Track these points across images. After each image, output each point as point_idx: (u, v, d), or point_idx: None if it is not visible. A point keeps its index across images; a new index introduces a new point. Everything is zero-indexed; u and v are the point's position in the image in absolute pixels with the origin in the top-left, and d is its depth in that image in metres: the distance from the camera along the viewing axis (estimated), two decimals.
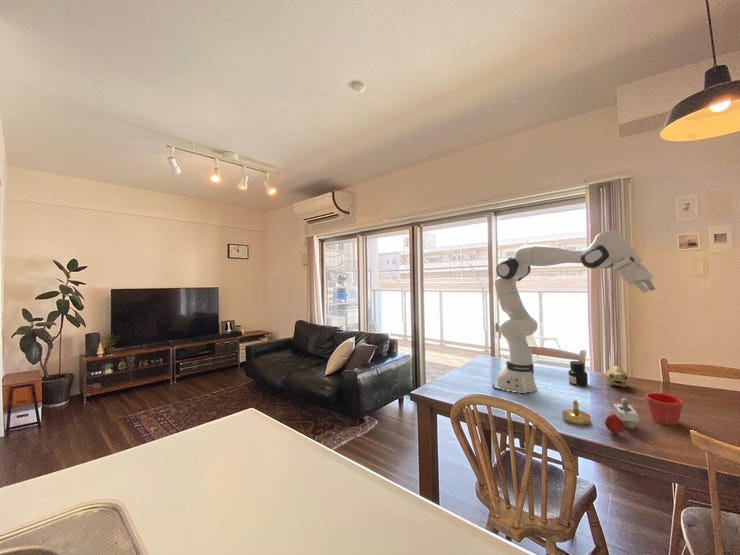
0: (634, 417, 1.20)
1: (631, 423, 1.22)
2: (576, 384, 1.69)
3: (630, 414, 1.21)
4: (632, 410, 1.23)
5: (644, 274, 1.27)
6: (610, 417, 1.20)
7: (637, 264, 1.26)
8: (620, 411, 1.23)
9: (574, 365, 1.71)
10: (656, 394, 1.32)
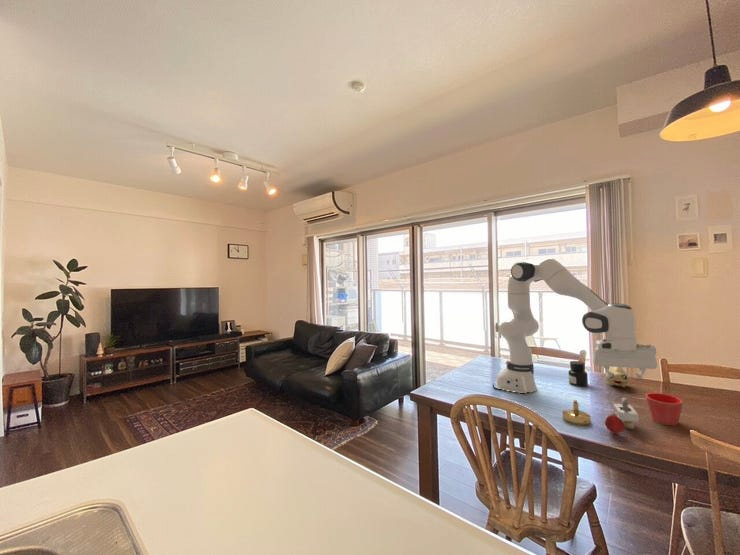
0: (634, 417, 1.20)
1: (631, 423, 1.22)
2: (576, 384, 1.69)
3: (630, 414, 1.21)
4: (632, 410, 1.23)
5: (628, 362, 1.23)
6: (610, 417, 1.20)
7: (619, 351, 1.23)
8: (620, 411, 1.23)
9: (574, 365, 1.71)
10: (656, 394, 1.32)
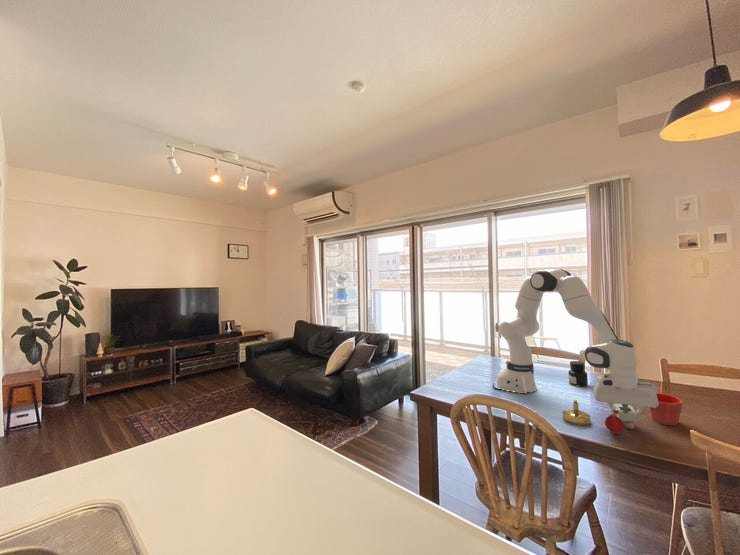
0: (634, 417, 1.20)
1: (631, 423, 1.22)
2: (576, 384, 1.69)
3: (630, 414, 1.21)
4: (632, 410, 1.23)
5: (629, 400, 1.23)
6: (610, 417, 1.20)
7: (620, 389, 1.23)
8: (620, 411, 1.23)
9: (574, 365, 1.71)
10: (656, 394, 1.32)
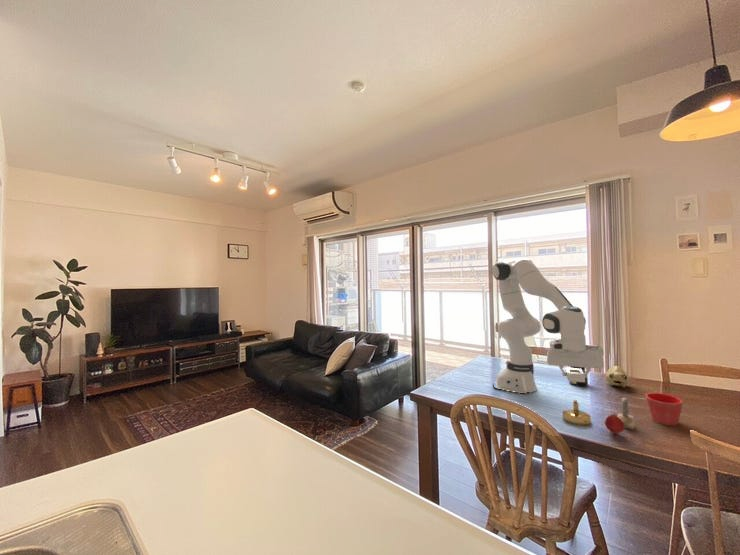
0: (581, 378, 1.27)
1: (631, 423, 1.22)
2: (576, 384, 1.69)
3: (577, 375, 1.28)
4: (580, 372, 1.30)
5: (578, 362, 1.30)
6: (610, 417, 1.20)
7: (570, 351, 1.30)
8: (569, 373, 1.30)
9: None
10: (656, 394, 1.32)
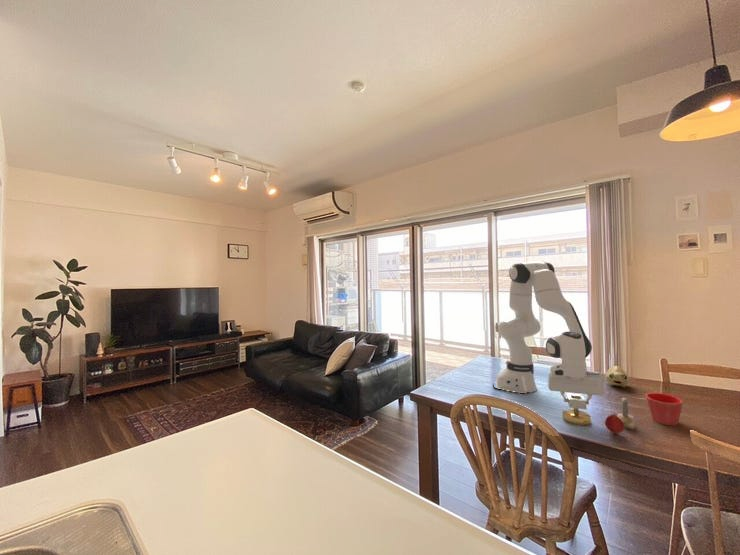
0: (582, 405, 1.27)
1: (631, 423, 1.22)
2: None
3: (579, 402, 1.27)
4: (582, 398, 1.30)
5: (579, 388, 1.29)
6: (610, 417, 1.20)
7: (571, 378, 1.30)
8: (570, 399, 1.29)
9: None
10: (656, 394, 1.32)
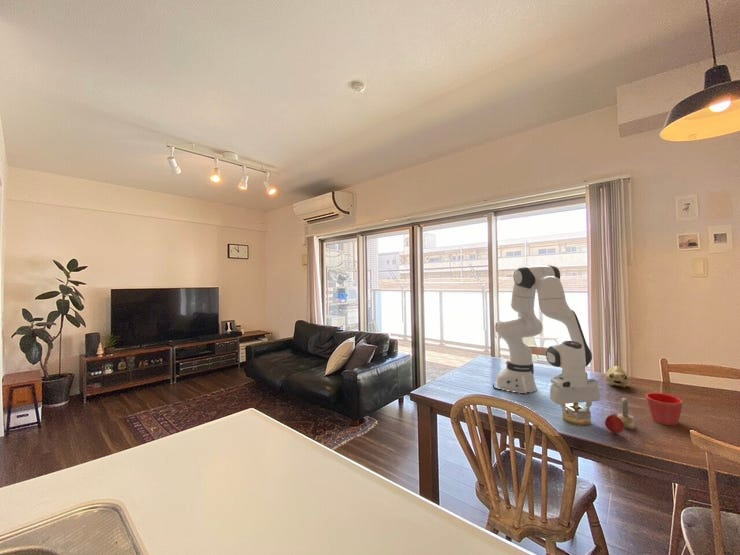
0: (587, 415, 1.27)
1: (631, 423, 1.22)
2: None
3: (585, 412, 1.27)
4: (582, 408, 1.31)
5: (581, 397, 1.30)
6: (610, 417, 1.20)
7: (575, 388, 1.29)
8: (576, 411, 1.28)
9: None
10: (656, 394, 1.32)
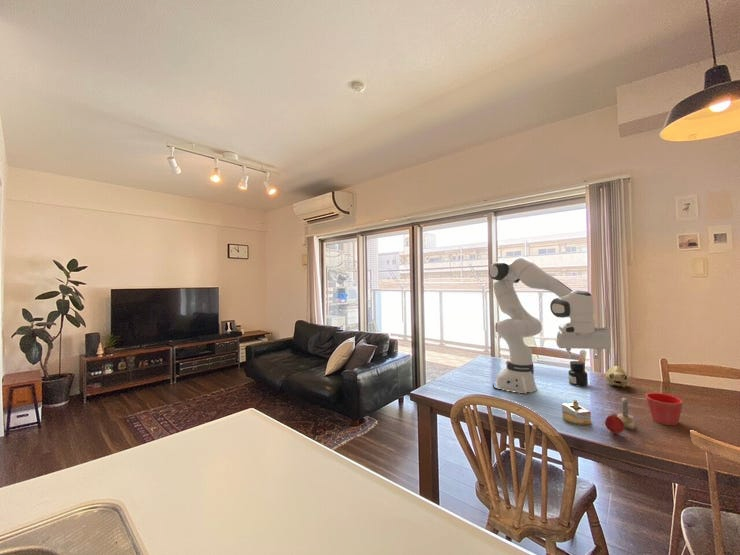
0: (587, 415, 1.27)
1: (631, 423, 1.22)
2: (576, 384, 1.69)
3: (585, 412, 1.27)
4: (582, 408, 1.31)
5: (587, 344, 1.35)
6: (610, 417, 1.20)
7: (580, 334, 1.35)
8: (576, 411, 1.28)
9: (574, 365, 1.71)
10: (656, 394, 1.32)
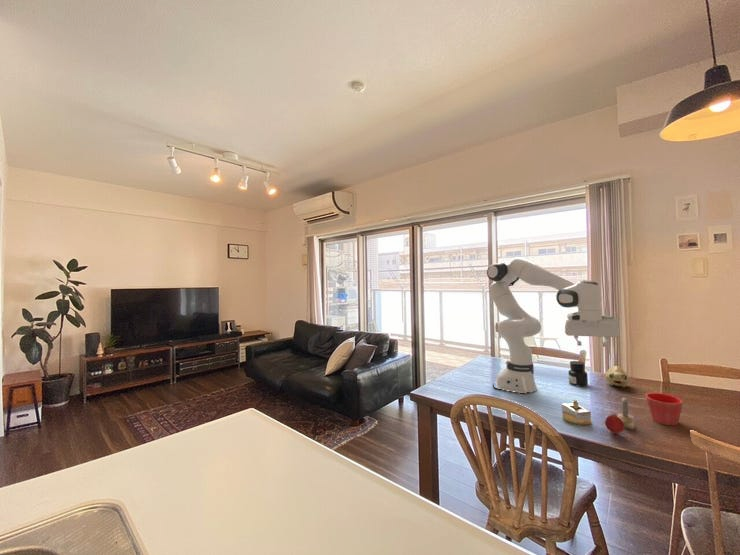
0: (587, 415, 1.27)
1: (631, 423, 1.22)
2: (576, 384, 1.69)
3: (585, 412, 1.27)
4: (582, 408, 1.31)
5: (594, 331, 1.39)
6: (610, 417, 1.20)
7: (587, 322, 1.39)
8: (576, 411, 1.28)
9: (574, 365, 1.71)
10: (656, 394, 1.32)
